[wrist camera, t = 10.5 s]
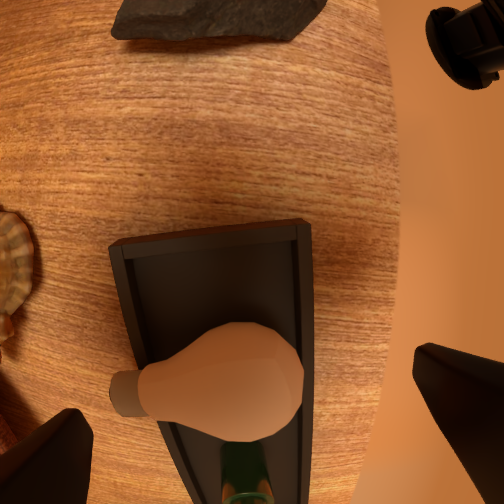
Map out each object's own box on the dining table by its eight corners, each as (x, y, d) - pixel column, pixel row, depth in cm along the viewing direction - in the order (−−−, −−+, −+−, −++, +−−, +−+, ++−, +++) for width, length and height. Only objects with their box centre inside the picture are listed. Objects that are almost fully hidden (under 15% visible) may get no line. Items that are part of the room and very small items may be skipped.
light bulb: (113, 470, 12) (322, 454, 12) (64, 365, 12) (306, 333, 12) (144, 412, 19) (302, 391, 19) (115, 326, 19) (286, 297, 18)
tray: (301, 217, 18) (311, 223, 16) (303, 507, 26) (306, 520, 24) (118, 238, 17) (107, 246, 15) (208, 518, 25) (209, 532, 23)
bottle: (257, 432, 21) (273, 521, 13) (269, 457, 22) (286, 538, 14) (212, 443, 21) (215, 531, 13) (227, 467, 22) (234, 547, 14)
